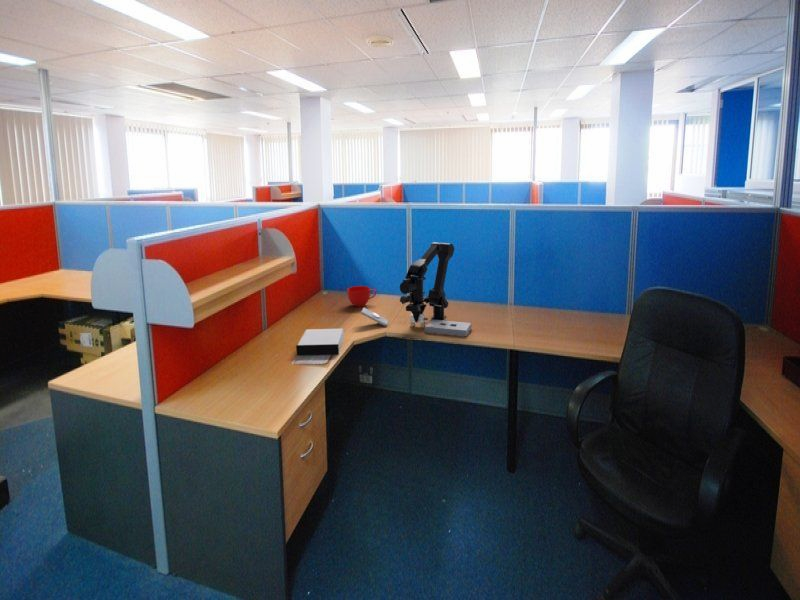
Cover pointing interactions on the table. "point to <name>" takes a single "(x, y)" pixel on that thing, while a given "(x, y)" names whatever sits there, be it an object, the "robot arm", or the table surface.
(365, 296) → the ceramic cup
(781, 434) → the table surface
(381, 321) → the light switch
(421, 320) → the plug
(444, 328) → the socket
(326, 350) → the disc drive
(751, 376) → the table surface
